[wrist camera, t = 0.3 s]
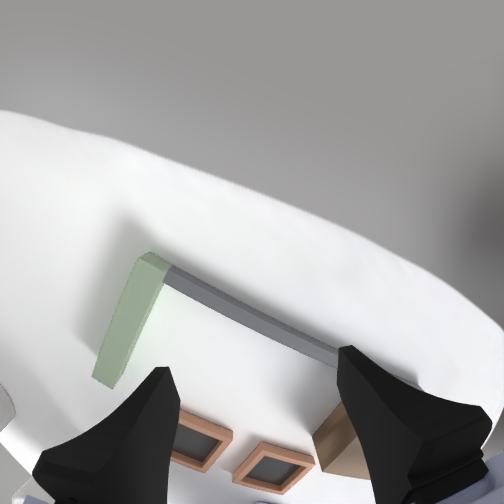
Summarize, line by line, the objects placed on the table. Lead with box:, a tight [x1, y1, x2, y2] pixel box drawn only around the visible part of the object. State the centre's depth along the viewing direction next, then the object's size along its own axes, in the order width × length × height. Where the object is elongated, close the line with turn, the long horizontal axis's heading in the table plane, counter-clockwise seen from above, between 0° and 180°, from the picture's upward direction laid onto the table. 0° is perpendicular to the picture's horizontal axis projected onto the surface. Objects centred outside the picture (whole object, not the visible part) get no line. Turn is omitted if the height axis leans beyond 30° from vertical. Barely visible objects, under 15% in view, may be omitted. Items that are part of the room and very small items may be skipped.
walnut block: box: [312, 401, 371, 480], centre depth 22 cm, size 6×6×5 cm
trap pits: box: [170, 409, 316, 495], centre depth 24 cm, size 6×15×1 cm, turn 61°
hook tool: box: [91, 252, 424, 392], centre depth 22 cm, size 11×27×2 cm, turn 61°
